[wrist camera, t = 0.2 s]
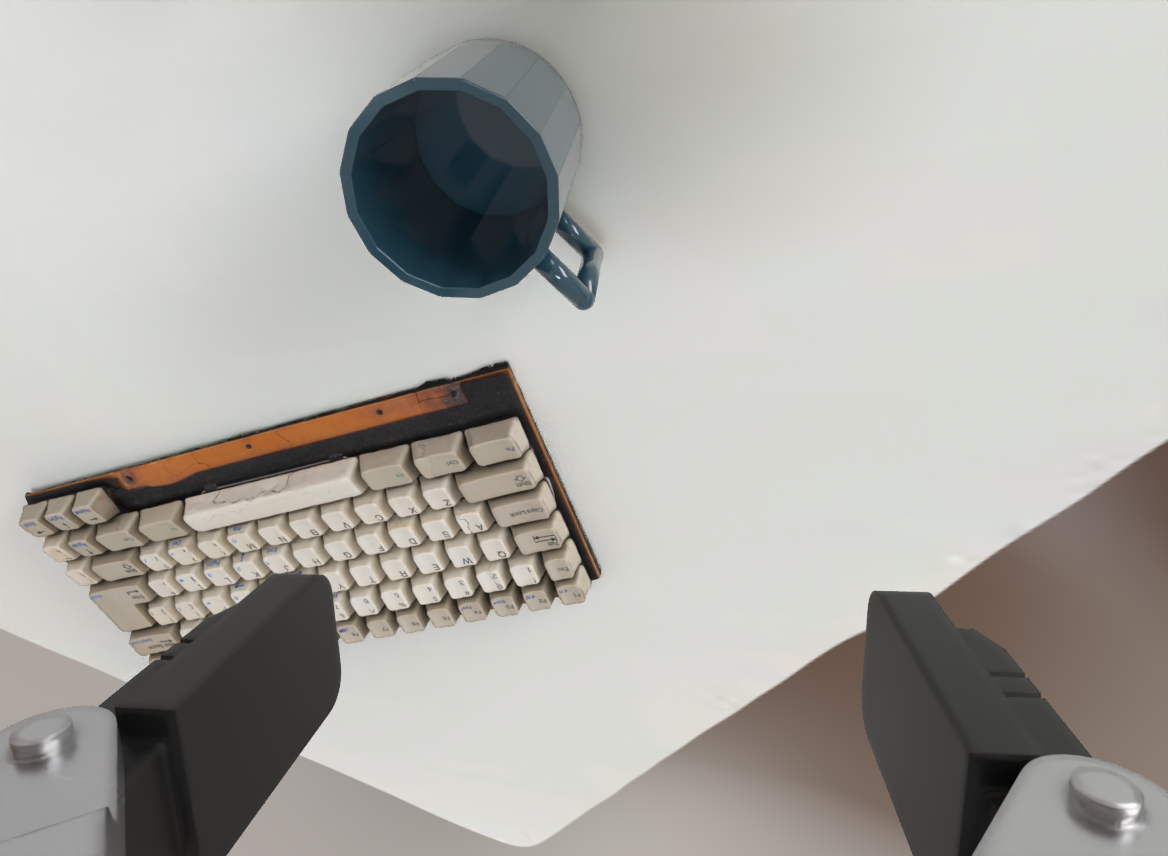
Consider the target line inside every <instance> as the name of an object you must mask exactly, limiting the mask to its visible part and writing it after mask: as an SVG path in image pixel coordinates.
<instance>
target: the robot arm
mask: <svg viewBox="0 0 1168 856" xmlns="http://www.w3.org/2000/svg"><path fill="white" fill-rule="evenodd" d="M340 681H341V663H340V654H339V645H338V636H337V628H336V619H335V610H334V601H333V593H332V587H331V584H330V582H329V580H328V578H327V577H326V576H324V575H315V574H278V573H276V574H273V575H271V576H270V577H269V578H267V579H266V580H265V581H264V582H263V583H261V584H260V585H259V586H258V587H257V588H255V589H254V590H253V591H252V592H251V593H250V594H248V595H247V596H246V597H245V598H244V599H242V600H241V601H240V602H239V603H238V604H236V605H234V606H232V607H230V608H228V609H226V610H224V611H222V612H220V613H217V614H215V615H213V616H211V617H209V618H207V619H205V620H203V621H202V622H201V623H200V624H199V625H197V626H196V627H195V628H194V629H192V630H191V631H190V632H189V633H188V634H186V635H185V636H184V637H183V638H181V641H180V643H175V644H174V645H173V646H172V647H170V648H169V649H168V650H167V651H165V652H164V653H163V654H162V655H161V658H160V660H154V661H153V662H152V663H151V664H150V665H148V666H147V667H146V668H145V669H143V670H142V671H141V672H140V673H139V674H137V675H136V676H135V677H134V678H132V679H131V680H130V681H129V682H127V683H126V684H125V685H124V686H123V687H121V688H120V689H119V690H118V691H116V693H114V694H113V695H112V696H110V697H109V698H108V699H107V700H105V701H104V702H103V703H102V704H101V705H99V706H98V707H96V706H73V707H66V708H61V709H56V710H52V711H48V712H45V713H41V714H38V715H35V716H32V717H30V718H27V719H25V720H22V721H20V722H18V723H15V724H13V725H11V726H9V727H7V728H5V729H4V730H2V731H0V856H226V855H227V854H228V853H229V851H230V850H231V848H232V847H233V846H234V844H235V843H236V841H237V840H238V839H239V837H240V836H241V834H242V833H243V832H244V830H245V829H246V828H247V826H248V825H249V824H250V822H251V820H252V819H253V818H254V817H255V815H256V814H257V812H258V811H259V810H260V808H261V807H262V806H263V804H264V803H265V801H266V800H267V799H268V797H269V796H270V794H271V793H272V792H273V790H274V789H275V787H276V786H277V785H278V783H279V782H280V781H281V779H282V778H283V776H284V775H285V774H286V772H287V771H288V769H289V768H290V767H291V765H292V764H293V763H294V761H295V760H296V759H297V757H298V756H299V754H300V753H301V752H302V750H303V749H304V747H305V746H306V745H307V743H308V742H309V741H310V739H311V738H312V736H313V735H314V734H315V732H316V731H317V730H318V728H319V727H320V725H321V724H322V723H323V721H324V720H325V718H326V717H327V716H328V714H329V713H330V711H331V710H332V708H333V706H334V704H335V702H336V699H337V696H338V692H339V688H340ZM862 710H863V719H864V725H865V730H866V734H867V737H868V740H869V743H870V745H871V748H872V750H873V753H874V755H875V758H876V761H877V763H878V766H879V769H880V771H881V774H882V776H883V779H884V782H885V784H886V786H887V789H888V792H889V794H890V797H891V799H892V802H893V805H894V807H895V810H896V813H897V815H898V817H899V820H900V823H901V826H902V828H903V831H904V833H905V836H906V838H907V841H908V843H909V846H910V849H911V851H912V854H913V856H1168V792H1166V791H1165V790H1164V789H1162V788H1161V787H1159V786H1158V785H1156V784H1155V783H1153V782H1151V781H1150V780H1148V779H1146V778H1144V777H1142V776H1140V775H1138V774H1137V773H1135V772H1132V771H1130V770H1128V769H1125V768H1123V767H1120V766H1118V765H1115V764H1112V763H1109V762H1106V761H1102V760H1098V759H1094V758H1092V756H1091V755H1090V754H1089V753H1088V751H1087V750H1086V749H1085V748H1084V746H1083V745H1082V744H1081V743H1080V741H1079V740H1078V739H1077V738H1076V737H1075V735H1074V734H1073V733H1072V732H1071V730H1070V729H1069V728H1068V727H1067V725H1066V724H1065V723H1064V722H1063V720H1062V719H1061V718H1060V717H1059V715H1058V714H1057V713H1056V712H1055V711H1054V709H1053V708H1052V707H1051V705H1050V704H1049V703H1048V702H1047V701H1046V699H1045V698H1041V693H1040V692H1039V690H1038V689H1037V688H1036V687H1035V685H1034V684H1033V683H1032V682H1031V681H1030V679H1029V678H1025V673H1024V672H1023V671H1022V669H1021V668H1020V667H1019V666H1018V664H1017V663H1016V662H1015V661H1014V659H1013V658H1012V657H1011V656H1010V654H1009V653H1008V652H1007V651H1006V649H1004V648H1002V647H1001V646H999V645H998V644H996V643H995V642H993V641H991V640H990V639H988V638H987V637H985V636H984V635H982V634H980V633H979V632H977V631H976V630H974V629H960V628H956V627H955V626H954V624H953V623H952V622H951V620H950V619H949V618H948V616H947V615H946V613H945V612H944V610H943V609H942V608H941V607H940V605H939V604H938V602H937V601H936V599H935V598H934V597H933V595H932V594H931V593H929V592H899V591H873V592H872V593H871V596H870V599H869V603H868V612H867V626H866V640H865V655H864V669H863V683H862Z"/></svg>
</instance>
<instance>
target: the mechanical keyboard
mask: <svg viewBox="0 0 1168 856" xmlns="http://www.w3.org/2000/svg"><path fill="white" fill-rule="evenodd" d="M493 366H494V367H493V368H489V367H488V366H487V367H485V368H482V369H480V370H479V371H476V372H473V373H471V374H467V375H464V376H461V377H457V378H456V379H454V378H453V379H452V380H446V379H441V380H437V381H434V382H430V381H429V382H425V383H424V384H423V385H421V386H420V387H418V388H416V389H411V390H408V391H404V392H400V393H396V394H393V395H389V396H385V397H381V398H378V399H375V400H372V401H367V402H363V403H359V404H355V405H352V406H348V407H345V408H343V409H340V410H335V411H331V412H327V413H323V414H319V415H317V416H312V417H308V418H307V419H306V420H305V419H301V420H298V421H294V422H290V423H287V424H283V425H279V426H276V427H273V428H270V429H266V430H262V431H259V432H257V433H256V432H253V433H250V434H247V435H243V436H241V435H240V436H238V437H235V438H231V439H228V441H227V442H218V443H215V444H213V445H210V446H206V447H202V448H197V449H194V450H190V451H188V452H183V453H180V454H178V455H175V456H170V457H164V458H161V459H160V460H154V461H152V462H148V463H145V464H141V465H138V466H135V467H129V468H125V469H122V470H116V471H113V472H111V473H106V474H103V475H101V476H96V477H91V478H84V480H82V481H78V482H76V481H74V482H71V483H69V484H67V485H61V486H58V487H54V488H50V489H46V490H43V491H39V492H35V493H29V492H28V493H26V495H25V497H26V500H27V503H28V505H26V506H24V507H23V513H22V516H21V519H20V521H19V525H20V526H21V527H22V528H23V529H25V530H26V531H27V532H29V533H30V534H32V535H33V536H36V537H44V536H46V537H45V542H44V544H43V548H42V550H43V552H44V553H46V554H47V555H48V556H50V557H52V558H53V559H54V560H56V561H58V562H65V561H66V562H68V566H67V570H66V575H67V576H68V577H69V578H71V579H72V580H73V581H75V582H76V583H78V584H79V585H81V586H87V585H91V586H90V593H89V597H90V599H91V600H93V602H94V603H95V604H97V605H98V607H99V608H100V609H101V610H102V611H103V612H104V613H105V614H106V615H107V616H108V617H109V619H111V620H112V621H113V622H114V623H115V624H116V626H117V627H118V628H119V629H120V630H122V631H123V632H129V631H131V636H130V640H129V644H130V645H131V646H132V647H133V648H134V649H135V651H136V652H137V653H138V654H140V655H141V656H145V655H148V654H150V658H149V664H151V663H152V662H153V661H154V660H160V658H161V655H162V654H163V653H164V652H165V651H167V650H168V649H169V648H170V647H172V646H173V645H174V644H175V643H180V641H181V638H183V637H184V636H185V635H186V634H188V633H189V632H190V631H191V630H192V629H194V628H195V627H196V626H197V625H199V624H200V623H201V622H202V621H203V620H205V619H207V618H209V617H211V616H213V615H215V614H217V613H220V612H222V611H224V610H226V609H228V608H230V607H232V606H234V605H236V604H238V603H239V602H240V601H241V600H242V599H244V598H245V597H246V596H247V595H248V594H250V593H251V592H252V591H253V590H254V589H255V588H257V587H258V586H259V585H260V584H261V583H263V582H264V581H265V580H266V579H267V578H269V577H270V576H271V575H273V574H276V573H278V574H315V575H324V576H326V577H327V578H328V580H329V582H330V584H331V587H332V593H333V601H334V610H335V619H336V628H337V636H338V640H339V638H340V637H341V638H342V639H343V641H344V642H345V643H356V642H362V641H363V640H364V639H365V637H366V635H367V634H368V633H369V631H371V633H372V634H373V636H374V637H376V638H384V637H392V636H394V635H395V633H396V631H397V629H398V628H399V626H401V628H402V629H403V631H404V632H405V633H413V632H417V631H423V630H424V629H425V628H426V625H427V623H428V622H429V620H431V621H432V623H433V625H434V626H435V627H436V628H442V627H449V626H454V625H455V624H456V621H457V619H458V618H459V616H460V615H462V616H463V617H464V619H465V621H467V622H474V621H478V620H485V619H486V617H487V615H488V613H489V611H490V609H494V610H495V612H496V613H497V614H498V615H499V616H501V617H504V616H509V615H517V614H518V613H519V610H520V608H521V606H522V604H523V603H526V604H527V606H528V608H529V609H530V610H531V611H537V610H541V609H549V608H550V607H551V604H552V602H553V600H554V599H555V597H559V598H560V600H561V602H562V604H564V605H570V604H576V603H583V602H584V601H585V597H586V594H587V592H588V590H589V588H590V587H591V583H592V580H596V579H598V578H599V577H600V575H601V570H600V568H599V566H598V564H597V561H596V559H595V557H594V555H593V552H592V550H591V547H590V545H589V543H588V541H587V539H586V537H585V535H584V533H583V530H582V528H581V525H580V523H579V521H578V519H577V517H576V515H575V512H574V510H573V508H572V506H571V504H570V502H569V499H568V497H567V495H566V492H565V490H564V487H563V485H562V483H561V481H560V478H559V476H558V474H557V472H556V470H555V467H554V465H553V463H552V461H551V458H550V456H549V454H548V451H547V450H546V447H545V445H544V443H543V441H542V438H541V436H540V434H539V432H538V429H537V427H536V425H535V423H534V421H533V419H532V415H531V413H530V411H529V409H528V407H527V405H526V403H525V400H524V398H523V395H522V392H521V390H520V388H519V386H518V385H517V383H516V380H515V378H514V376H513V374H512V371H511V369H510V367H509V365H508V363H507V362H505V363H500V364H494V365H493ZM490 367H491V365H490ZM249 445H250V446H249ZM130 477H131V478H130Z"/></svg>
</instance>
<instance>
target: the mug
mask: <svg viewBox="0 0 1168 856" xmlns="http://www.w3.org/2000/svg"><path fill="white" fill-rule="evenodd" d="M581 144H582V132H581V123H580V117H579V113H578V110H577V107H576V104H575V101H574V99H573V96H572V94H571V92H570V90H569V88H568V87H567V85H566V84H565V82H564V80H563V79H562V78H561V77H560V75H559V74H558V73H557V72H556V70H555V69H554V68H553V67H552V66H551V65H550V64H549V63H547V62H546V61H545V60H544V59H543V58H541V57H540V56H539V55H537V54H536V53H534V52H532V51H530V50H529V49H527V48H525V47H523V46H520V45H517V44H515V43H512V42H508V41H503V40H496V39H480V40H473V41H466V42H464V43H462V44H459V45H457V46H454V47H452V48H451V49H449V50H447V51H445V52H443V53H441V54H439V55H437V56H435V57H433V58H432V59H430V60H429V61H427V62H426V63H424V64H423V65H421V66H420V67H418V68H417V69H415V70H414V71H412V72H411V73H409V74H408V75H406V76H404V77H403V78H401V79H400V80H398V81H397V82H395V83H394V84H392V85H391V86H389V87H388V88H386V89H385V90H383V91H382V92H380V93H379V94H377V95H376V96H375V97H373V99H372V100H371V101H370V103H369V104H368V105H367V106H366V108H365V109H364V110H363V112H362V113H361V114H360V116H359V117H358V118H357V119H356V121H355V122H354V123H353V125H352V126H351V127H350V129H349V131H348V135H347V140H346V144H345V149H344V153H343V158H342V163H341V167H340V177H341V182H342V188H343V193H344V199H345V204H346V210H347V214H348V217H349V219H350V220H351V222H352V224H353V225H354V227H355V229H356V230H357V232H358V234H359V236H360V237H361V239H362V241H363V242H364V244H365V246H366V247H367V249H368V251H369V252H370V253H371V254H372V255H373V256H374V257H375V258H376V259H377V260H378V261H380V262H381V263H382V264H383V265H384V266H385V267H387V268H388V269H389V270H390V271H391V272H392V273H393V274H395V275H396V276H397V277H398V278H399V279H400V280H403V282H406V283H408V284H411V285H413V286H416V287H418V288H421V289H423V290H425V291H428V292H430V293H433V294H435V295H438V296H441V297H465V298H480V297H481V298H482V297H485V296H487V295H490V294H493V293H496V292H498V291H501V290H504V289H507V288H509V287H512V286H515V285H516V284H518V283H519V282H520V281H521V280H522V279H523V278H524V277H525V276H526V275H527V274H528V273H530V272H531V271H532V270H533V269H534V268H535V269H536V270H537V271H538V272H539V273H540V274H541V275H542V276H543V277H544V278H545V279H546V280H547V281H548V282H549V283H550V284H552V285H553V286H554V287H555V288H556V289H557V290H558V291H559V292H560V293H561V294H562V295H563V296H564V297H565V298H566V299H567V300H568V301H570V302H571V303H572V304H573V305H574V306H575V307H576V308H577V309H579V310H587V309H589V308H591V307H592V306H593V304H594V301H595V296H596V290H597V285H598V280H599V274H600V269H601V263H602V258H603V251H602V248H601V247H600V246H599V245H598V244H597V243H596V242H595V241H594V240H593V239H592V238H591V237H590V236H589V235H588V234H587V233H586V232H585V231H584V230H583V229H582V228H581V227H580V226H579V225H578V224H577V223H576V222H575V221H574V220H573V219H572V218H571V217H570V216H569V215H568V214H567V213H566V212H565V211H564V210H563V209H564V206H565V203H566V200H567V197H568V194H569V192H570V189H571V186H572V183H573V180H574V177H575V174H576V171H577V168H578V165H579V162H580V158H581ZM555 232H556V233H558V234H559V235H560V236H561V237H562V238H563V239H564V240H565V241H566V242H567V243H568V244H569V245H570V246H571V247H572V248H573V249H574V250H575V251H576V252H577V253H578V254H579V255H580V256H581V257H582V258H581V263H580V267H579V271H578V275H577V276H576V275H575V274H574V273H573V272H572V271H571V270H570V269H568V268H567V267H566V266H565V265H564V264H563V263H562V262H561V261H560V260H559V259H558V258H557V257H556V256H555V255H554V254H553V253H552V252H551V251H550V250H549V249H548V248H549V246H550V243H551V241H552V238H553V236H554V233H555Z"/></svg>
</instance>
